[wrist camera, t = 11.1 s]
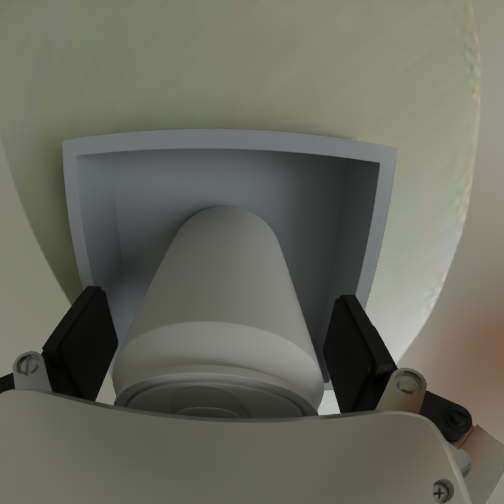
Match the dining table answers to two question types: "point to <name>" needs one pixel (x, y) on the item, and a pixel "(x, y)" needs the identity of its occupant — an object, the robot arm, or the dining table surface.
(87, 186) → the box
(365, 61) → the dining table surface
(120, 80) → the dining table surface
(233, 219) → the beverage can
